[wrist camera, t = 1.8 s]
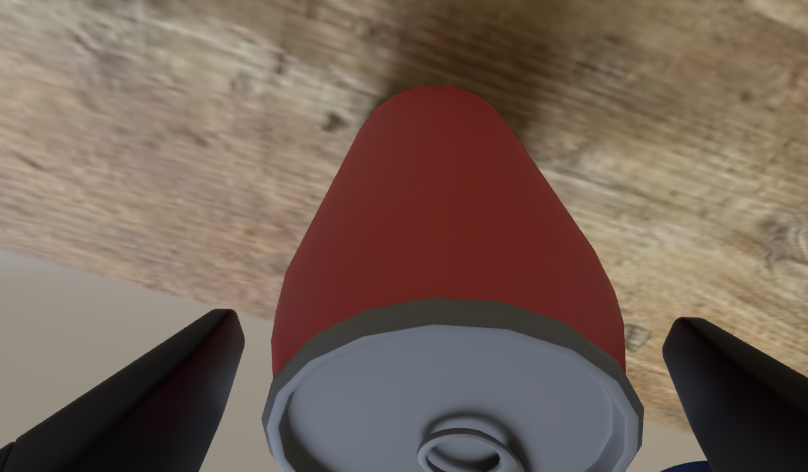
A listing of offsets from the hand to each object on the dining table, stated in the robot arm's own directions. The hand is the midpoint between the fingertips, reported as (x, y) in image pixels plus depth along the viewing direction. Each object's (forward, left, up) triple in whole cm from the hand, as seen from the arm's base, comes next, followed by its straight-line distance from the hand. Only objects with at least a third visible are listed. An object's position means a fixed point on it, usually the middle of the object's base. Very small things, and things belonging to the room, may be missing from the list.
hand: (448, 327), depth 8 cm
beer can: (0, 0, -10) cm, 10 cm away
